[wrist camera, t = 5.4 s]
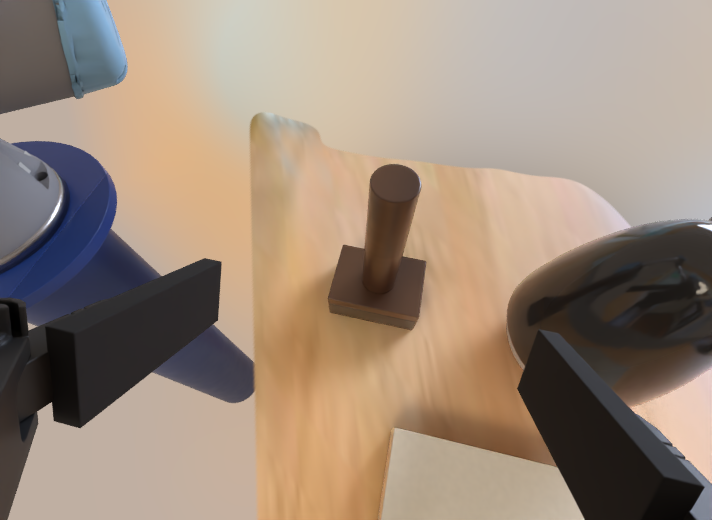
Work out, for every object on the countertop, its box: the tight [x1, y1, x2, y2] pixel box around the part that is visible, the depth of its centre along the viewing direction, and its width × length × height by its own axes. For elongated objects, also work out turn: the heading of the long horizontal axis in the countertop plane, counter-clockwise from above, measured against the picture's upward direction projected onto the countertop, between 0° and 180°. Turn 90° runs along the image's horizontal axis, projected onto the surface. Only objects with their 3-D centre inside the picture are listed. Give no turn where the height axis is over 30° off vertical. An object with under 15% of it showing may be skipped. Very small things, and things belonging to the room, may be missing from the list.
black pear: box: [507, 217, 712, 407], centre depth 21 cm, size 10×10×15 cm
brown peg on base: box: [328, 164, 426, 330], centre depth 23 cm, size 7×5×14 cm
